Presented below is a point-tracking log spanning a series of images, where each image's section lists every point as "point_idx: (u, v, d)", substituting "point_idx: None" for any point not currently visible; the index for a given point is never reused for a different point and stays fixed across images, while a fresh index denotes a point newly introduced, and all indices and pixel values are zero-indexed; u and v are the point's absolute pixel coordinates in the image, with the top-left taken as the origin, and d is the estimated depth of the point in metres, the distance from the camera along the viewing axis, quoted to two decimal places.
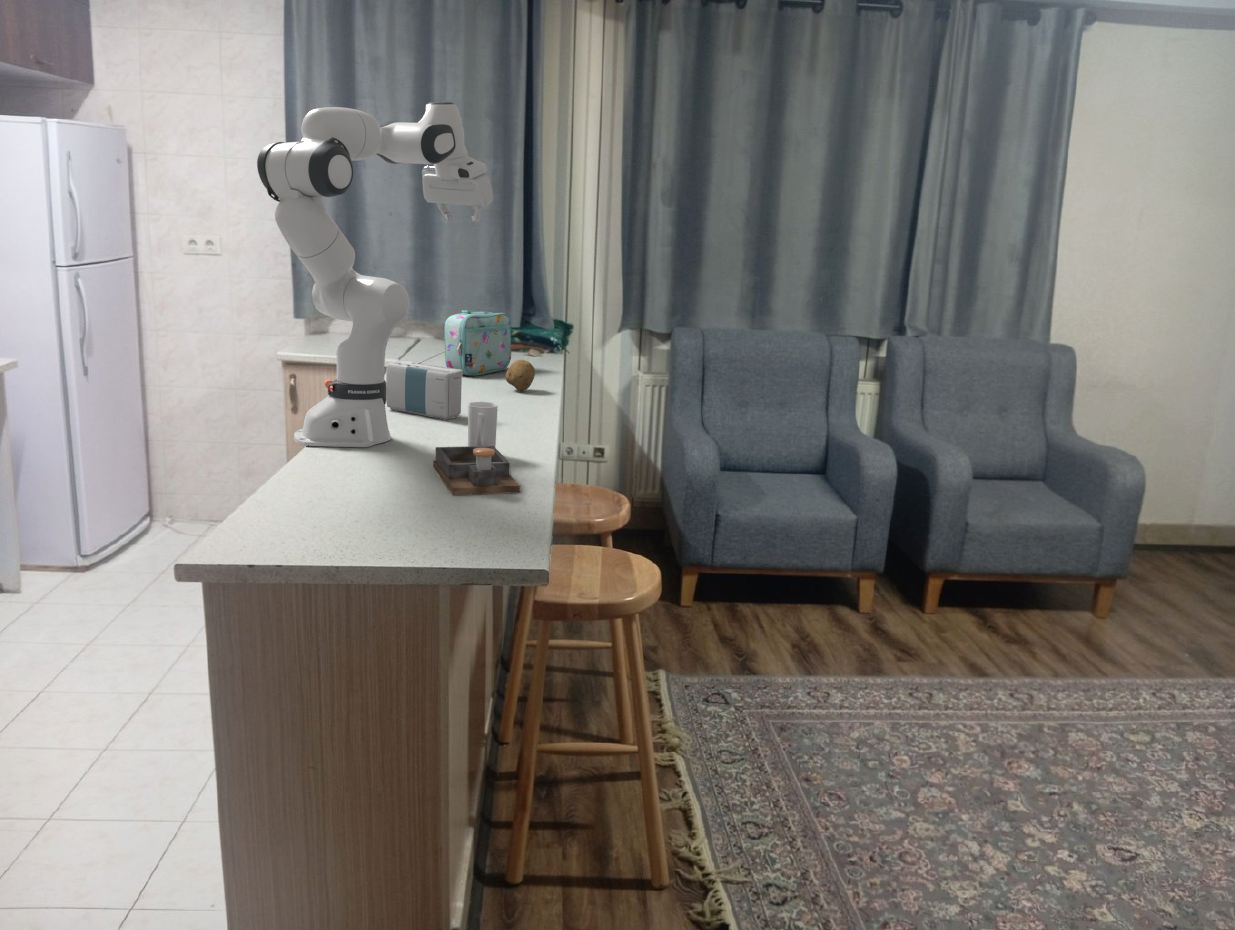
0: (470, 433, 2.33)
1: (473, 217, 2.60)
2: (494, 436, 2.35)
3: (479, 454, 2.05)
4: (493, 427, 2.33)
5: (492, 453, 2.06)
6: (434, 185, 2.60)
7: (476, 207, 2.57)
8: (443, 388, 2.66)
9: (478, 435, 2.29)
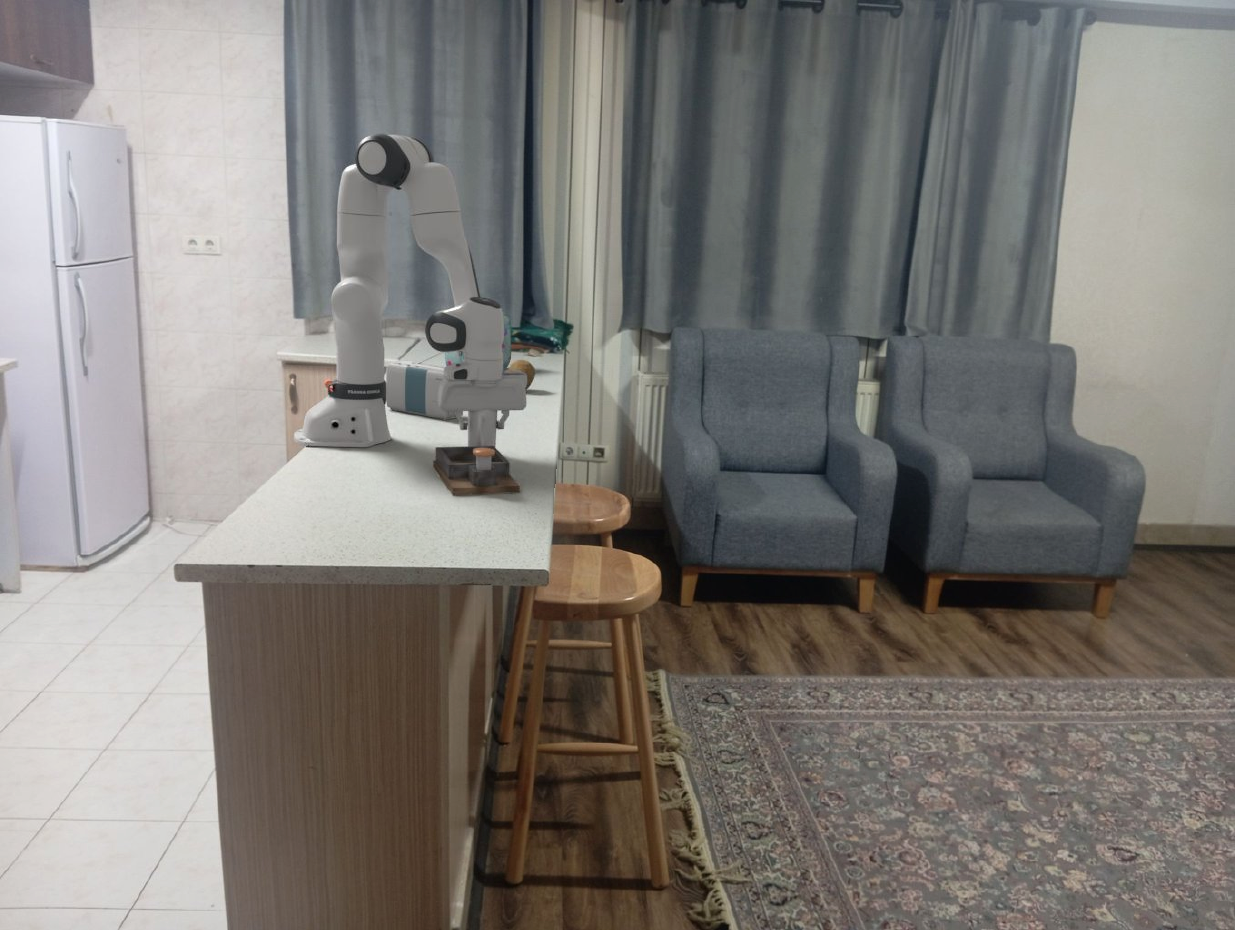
0: (470, 433, 2.33)
1: None
2: (494, 436, 2.35)
3: (479, 454, 2.05)
4: (493, 427, 2.33)
5: (492, 453, 2.06)
6: None
7: None
8: None
9: (478, 435, 2.29)
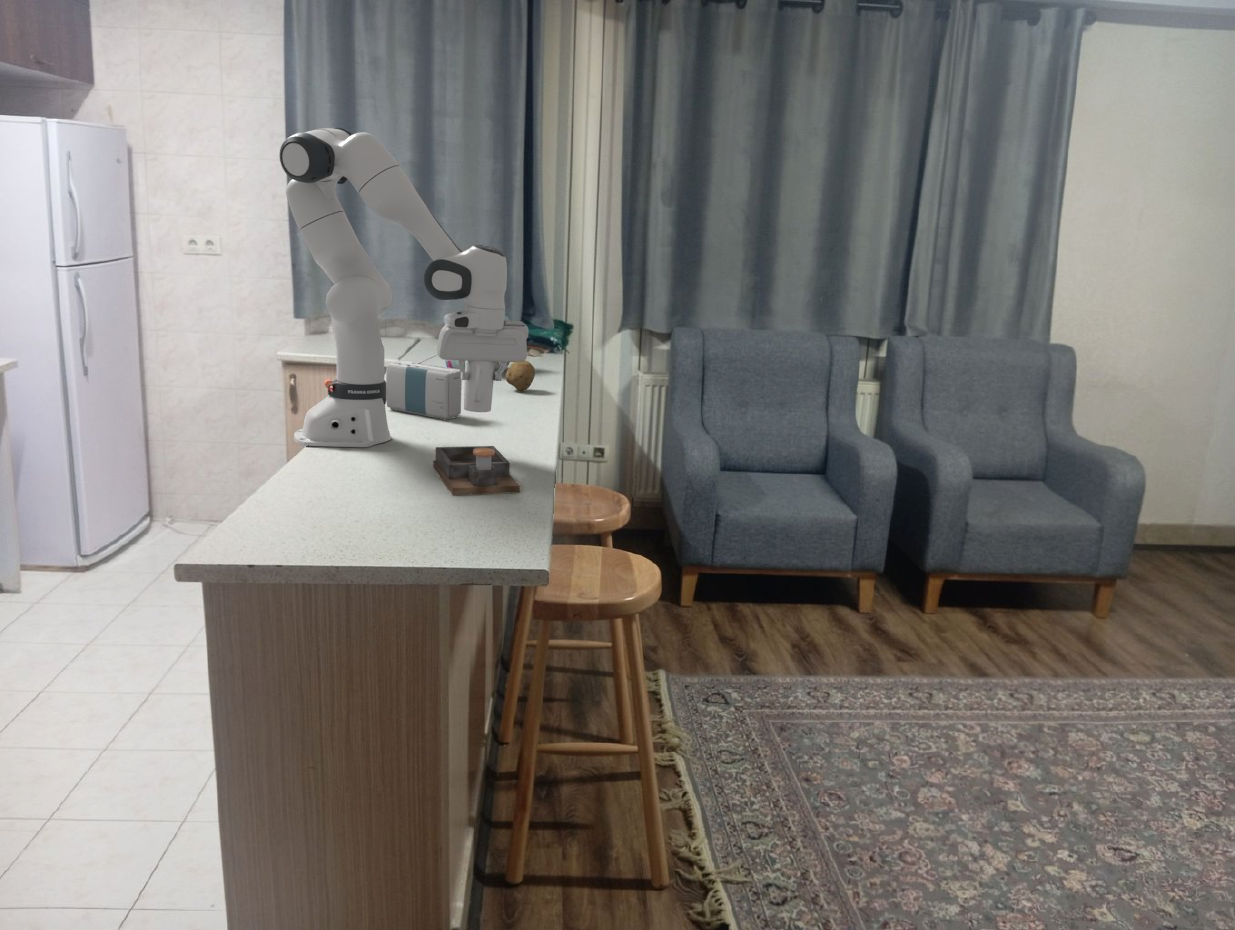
0: (467, 387, 2.31)
1: None
2: (491, 391, 2.32)
3: (479, 454, 2.05)
4: (490, 381, 2.31)
5: (492, 453, 2.06)
6: None
7: None
8: (443, 388, 2.66)
9: (476, 387, 2.26)
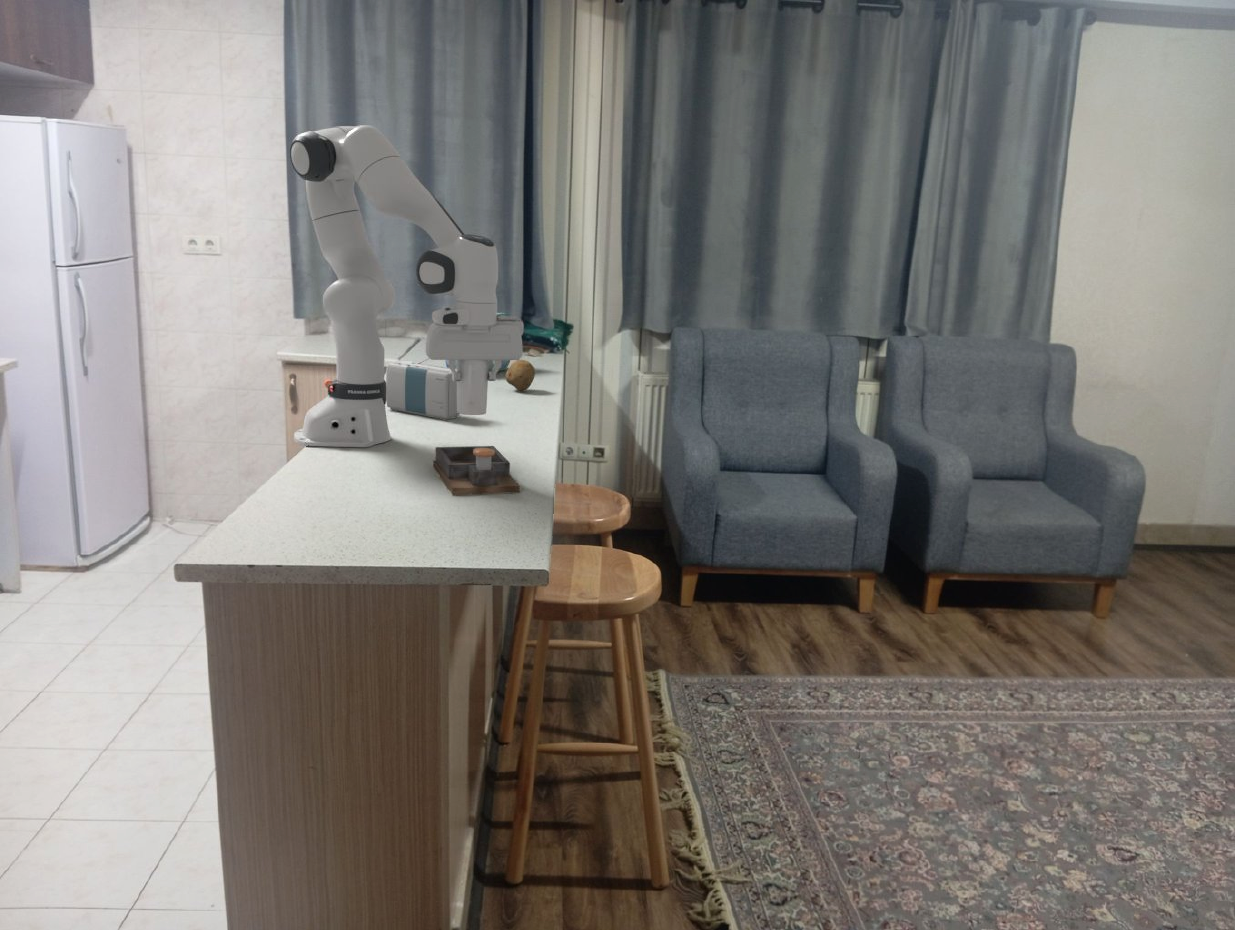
0: (459, 388, 2.14)
1: None
2: (485, 391, 2.15)
3: (479, 454, 2.05)
4: (484, 381, 2.14)
5: (492, 453, 2.06)
6: None
7: None
8: (443, 388, 2.66)
9: (469, 388, 2.10)
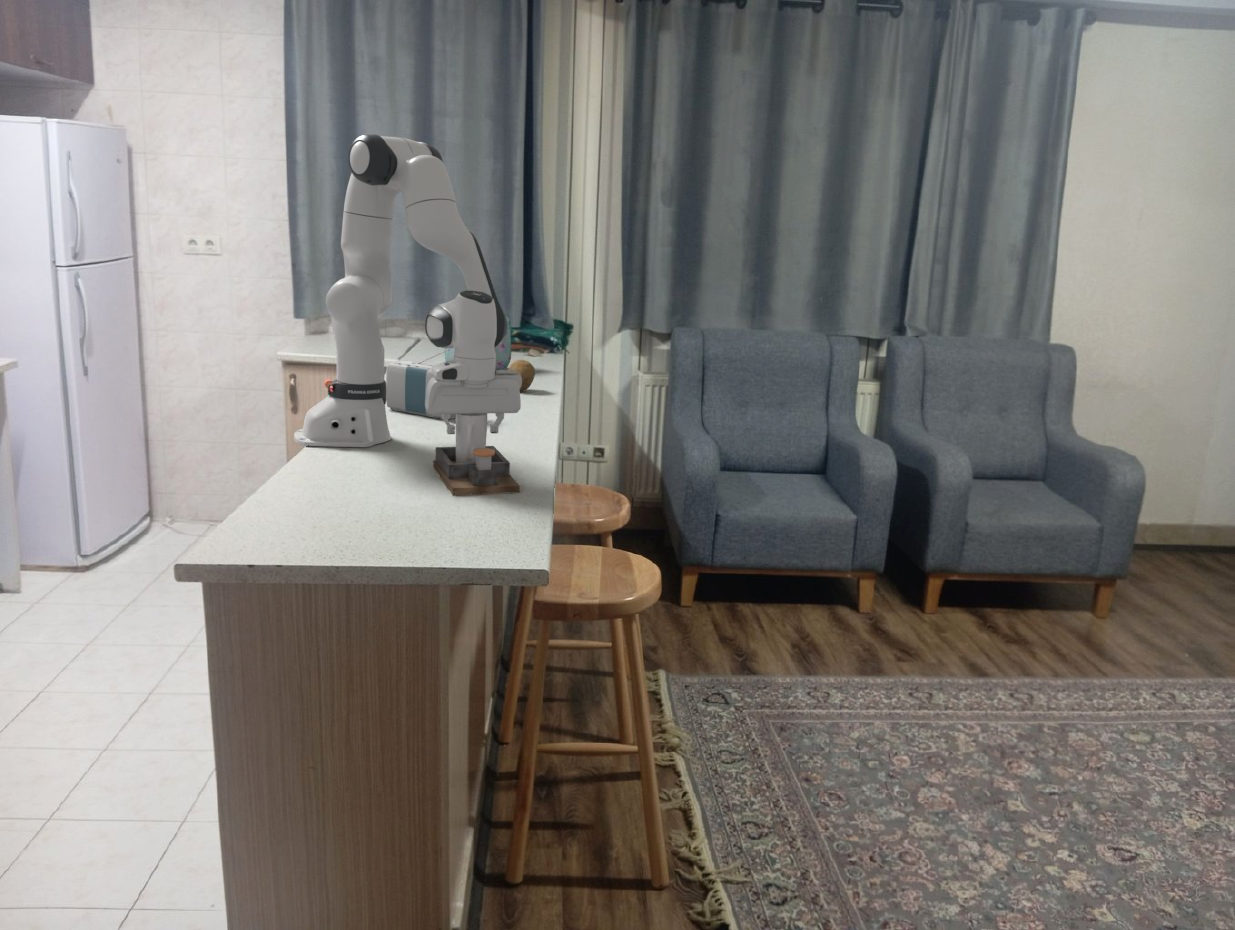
0: (458, 443, 2.17)
1: None
2: (484, 446, 2.18)
3: (479, 454, 2.05)
4: (483, 437, 2.17)
5: (492, 453, 2.06)
6: None
7: None
8: None
9: (467, 446, 2.12)
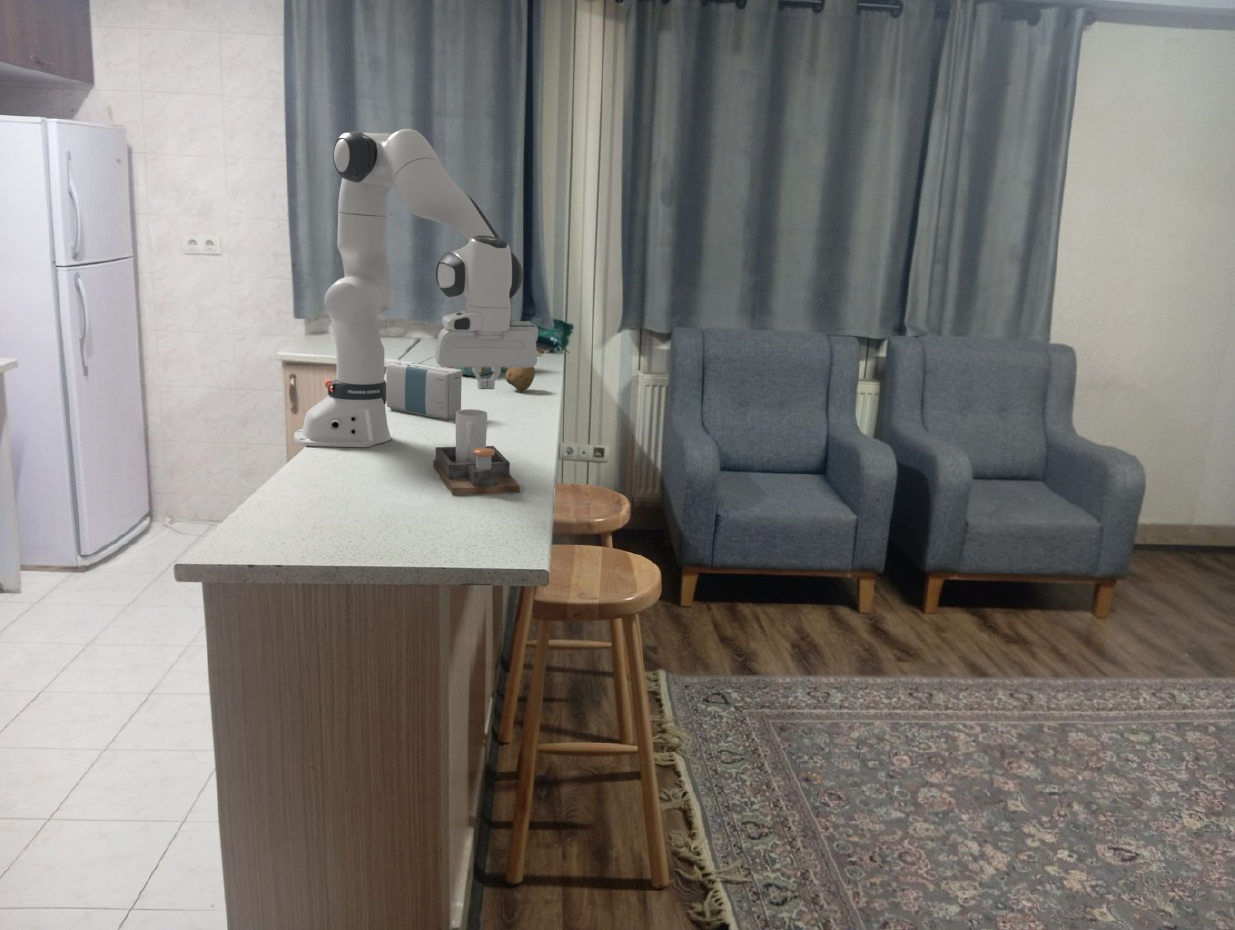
0: (458, 443, 2.17)
1: None
2: (484, 446, 2.18)
3: (479, 454, 2.05)
4: (483, 437, 2.17)
5: (492, 453, 2.06)
6: None
7: None
8: (443, 388, 2.66)
9: (467, 446, 2.12)
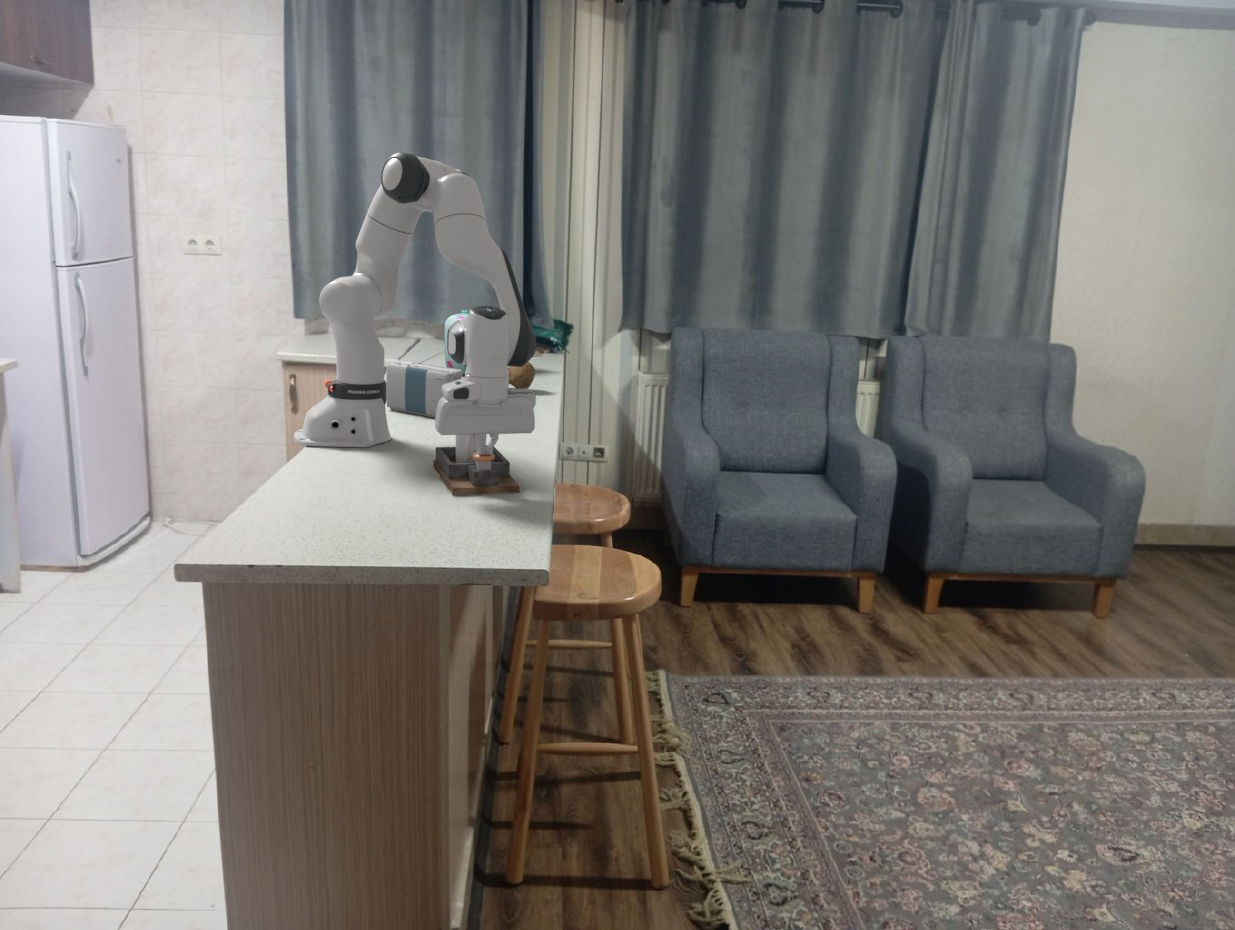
0: (458, 443, 2.17)
1: None
2: None
3: (479, 459, 2.06)
4: (483, 437, 2.17)
5: (492, 458, 2.07)
6: None
7: None
8: None
9: (467, 446, 2.12)
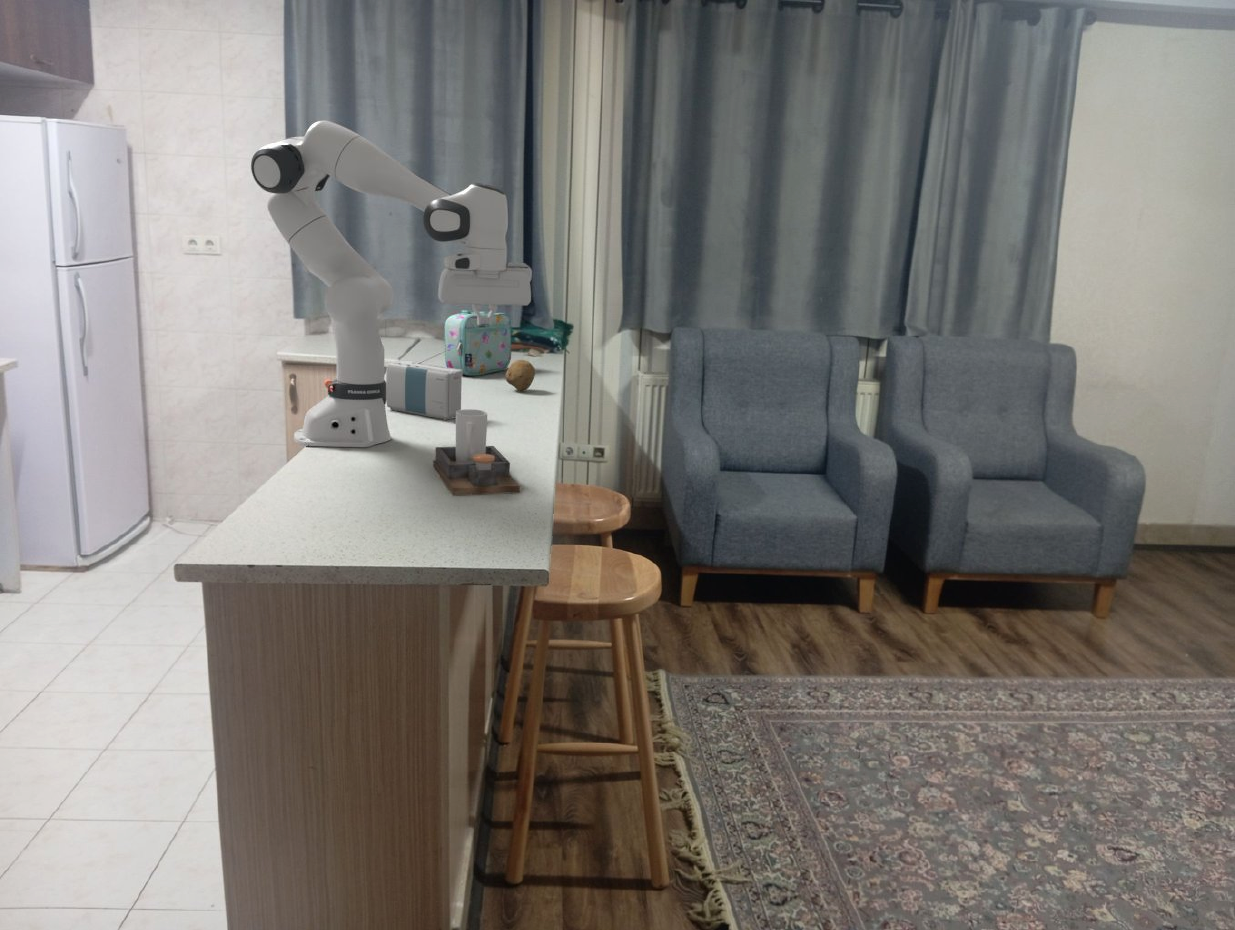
0: (458, 443, 2.17)
1: None
2: (484, 446, 2.18)
3: (479, 460, 2.06)
4: (483, 437, 2.17)
5: (492, 459, 2.07)
6: None
7: None
8: (443, 388, 2.66)
9: (467, 446, 2.12)
